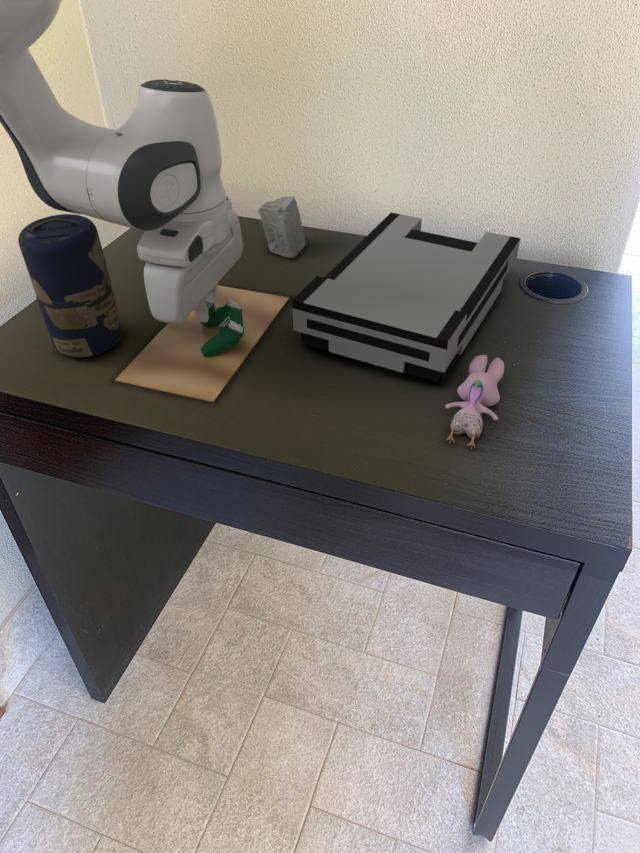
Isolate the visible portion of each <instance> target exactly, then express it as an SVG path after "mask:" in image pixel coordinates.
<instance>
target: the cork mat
mask: <svg viewBox="0 0 640 853" xmlns="http://www.w3.org/2000/svg"><path fill="white" fill-rule="evenodd" d="M218 286H219V287H218V292H217V297H216V308H218V307H222V306H225V305H226V303H228V301H229V299H230V300H233V301H235V303H238V304H239V305H240V307H241V309H242V317H243V328H244V333H243V336H242V337H241V338H240V340H239V341H240V342H239V343H238V344H237V343H236V344H235V345H234V346H232V347H230V348H229V349H227V350H225V351H223V352H220V353H218V354H215V355H211V356H205V357H204V356H203V354H202V352H201V350H200V349H201V347H202V346H203V345H204V344H205V342H207V341H208V340H209V339H211V338H212V337H214V336H215V335H217V334H218V333H219V326H210V327H208V326H204V325H202V324H201V322H200V321H198V320H197V319H196V316H195V310H193V311H192V312H191V313H190V314H189V315H188V316H187V318H186V319H185V320H184V321H183V322H182V323H181V324H171V323H167V324H165V325H164V326H163V328H162V329H161V330H160V331H159V332H158V333H157V334H156V335H155V336H154V337H153V339H151V341H150V342H149V343H147V345H146V346H145V347H144V348H143V349H142V350H141V351H140V352H139V353H138V355H137V356H136V357H135V358H134V359H133V360H131V362H130V363H129V364H128V365H127V366H126V367H125V369H123V370H122V372H121V373H120V374H119V375H118V376H117V377H116V378H115V379H114V381H115V382H116V383H117V382H118V383H122V384H127V385H131V386H136V387H140V388H146V389H148V390H149V389H150V390H155V391H159V392H163V393H167V394H173V395H176V396H182V397H187V398H190V399H194V400H195V399H196V400H200V401H203V402H209V403H214V402H215V401H216V400H217V399H218V397H219V396H220V394H221V393H222V392H223V390H224V389H225V387H226V386H227V385H228V384H229V382H230V381H231V379H232V378H233V376H234V375H235V374H236V372H237V371H238V370H239V369H240V367H241V366H242V364H243V363H244V362H245V361H246V359H247V357H248V356H249V355H250V353H251V352H252V351H253V349H254V348H255V347H256V345H257V344H258V342H259V341H260V339H261V338H262V337H263V335H264V334H265V333H266V331H267V330H268V329H269V327H270V326H271V324H272V323H273V322H274V320H275V319H276V318H277V316H278V315H279V314H280V312H281V311H282V309H283V308H284V307H285V305H286V304H287V303H288V302H289V300H290V297H288V296H284V295H277V294H272V293H265V292H261V291H260V292H259V291H253V290H248V289H242V288H236V287H230V286H224V285H219V284H218Z"/></svg>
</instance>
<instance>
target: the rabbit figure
mask: <svg viewBox="0 0 640 853" xmlns="http://www.w3.org/2000/svg"><path fill="white" fill-rule="evenodd" d="M487 365H488V354H479V355H476V356H475V357H474V358H473V359H472V360H471V362H470V363H469V365H468V375H467V377H466V379H465V380H464V381H463V382H462V383H461V384H460V385H459V386H458V387H457V390H456V392H457V395H458V396H459V398H460V399H461V400H462V401H454V402H450V403H447V404H445V406H444V408H445V409H447V410H449V409H451V408H460V409H459V410H458V411H457V412H456V413H455V414H454V416H453V417H452V420H451V423H450V431H451V432H450V433H449V436H448V437H447V439H446V441H449V442H448V443H449V444H451V442H453V443H455V442H456V441H455V439H454V435H457V436H458V435H462V434H466V435H467V437H468V438H470V442H469V443H468V444H466V447H467V446H471V447H470V448H471V449H470V450H473V448H474V449H475V448H476V444H475V439H477V438H479V437H480V436H481V434H482V431H483V427H484V426H483V425H484V421H483V417H482V414H486V415H488V416H490V417H491V418H492V420H493V421H498V420H499V417H498V415H497V414H496V413H495V412H494V411H492V410H491V409H490V408H489V407H492V406H494V405H495V406H496V404H498V403H499V402H500V400H501V396H500V392H499V389H498V383H499V382H500V381H501V380H502V378H503V376H504V373H505V363H504V361H503V360H502V359H501V358H500V357H495V358H494V359H493V360H492V361H491V362H490V364H489V366H488V368H487ZM486 368H487V370H486Z"/></svg>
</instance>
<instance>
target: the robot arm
mask: <svg viewBox="0 0 640 853" xmlns="http://www.w3.org/2000/svg"><path fill="white" fill-rule="evenodd" d="M61 4H62V0H0V125H1V126H2V127H3V129H4V130H5V132H6V133H7V134H8V137H9V138H10V139H11V141H12V143H13V145H14V147H15V149H16V151H17V153H18V156H19V158H20V161H21V163H22V166H23V170H24V172H25V175H26V178H27V180H28V182H29V185H30V187H31V188H32V190H33V192H34V193H35V195H36V196H37V197H38V198H39V199H40V200H41V201H42V203H44V204H45V205H46V206H48V207H50V208H51V209H54V210H57V211H60V212H66V213H70V214H71V213H72V214H76V215H84V216H87V217H91V218H94V219H97V220H101V221H104V222H107V223H110V224H116V225H119V226H122V227H126V228H129V229H134V230H137V231H138V230H139V231H144V232H143V233H142V236H141V237H140V239H139V241H138V242H137V245H136V253H137V257H138V259H139V260H140V261H142V262H145V264H144V267H143V283H144V287H145V293H146V298H147V303H148V306H149V310H150V313H151V315H152V317H153V318H154V319H155V320H156V321H158V322H161V323H164V324H165V323H167V324H168V323H171V324H181V323H182V322H183V321H184V320H185V319H186V318H187V316H188V315H189V314H190V313H191V312H192V311H193V310H195V316H196V319H197V320H198V321H201V322H207V321H208V320H209V319H210V317H211V316H212V315H213V314H214V313H215V312H216V310H217V309H216V297H217V292H218V287H219V286H220V285H219V282H220V281H221V280H222V279H223V277H224V276H225V275H226V274H227V273H228V272H229V271H230V270H231V269H232V268H233V266H234V265H235V264H236V263H237V262H238V261H239V260H240V259H241V257H242V255H243V251H244V242H243V235H242V229H241V224H240V219H239V215H238V212H236V211H235V210H233V202H232V200H231V198H229V196H228V195H227V194H226V188H225V187H224V185H223V181H222V177H221V171H222V170H221V169H222V164H223V155H222V154H223V153H222V147H221V138H220V130H219V125H218V120H217V116H216V112H215V108H214V105H213V101H212V99H211V96H210V94H209V93H208V91H207V90H206V89H205V88H204V87H202V86H201V85H199V84H197V83H193V82H190V81H189V82H188V81H183V80H177V79H176V80H174V79H173V80H172V79H151V80H147V81H145V82H143V83H141V84H140V85H139V87H138V100H137V103H136V105H135V107H134V109H133V111H132V112H131V114H130V116H129V117H128V118H127V120H126V121H125V122H124V124H122V125H121V126H120V127H119V128H118V129H113V128H108V127H104V126H99V125H94V124H92V123H89V122H87V121H85V120H82V119H80V118H78V117H76V116H75V115H72V114H71V113H69V112H68V111H67V110H66V109H64V108H63V106H61V104H60V103H59V100H58V99H57V97H56V96H55V94H54V91H53V90H52V88H51V86H50V85H49V83H48V82H47V80H46V77H45V76H44V74H43V72H42V71H41V69H40V67H39V66H38V65H39V64H37V62H36V60H35V58H34V57H33V54H32V53H31V51H30V49H29V48H30V47H32V46H33V45H34V44H35V43H36V42H37V41H38V40H39V39H40V38H41V37H42V36H43V35H44V33H46V32H47V30H48V29H49V27H51V25H52V23H53V22H54V20H55V18H56V17H57V14H58V12H59V10H60V7H61ZM218 285H219V286H218Z"/></svg>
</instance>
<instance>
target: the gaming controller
mask: <svg viewBox="0 0 640 853" xmlns="http://www.w3.org/2000/svg"><path fill="white" fill-rule="evenodd" d="M216 309H217V310H216V312H215V313H214V314H213V315H212V316H211V317H210V319H209V320H208V321H207V322H201V321H200V322H201V324H202V325H204V326H208V327H210V326H219V333H218V334H217V335H215V336H214V337H212V338H211V339H209V340H208V341H207V342H205V344H204V345H203V346H202V347H201V349H200V350H201V352H202V354H203V356H204V357H205V356H211V355H215V354H218V353H220V352H223V351H225V350H227V349H229V348H230V347H232V346H234V345H235V344H236V343H237V344H238V343H239V342H240V341H239V340H240V338H241V337H242V336H243V333H244V328H243V317H242V309H241V307H240V305H239V304H238V303H235V301H233V300H230V299H229V301H228V303H226V305H225V306H222V307H218V308H216Z"/></svg>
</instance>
